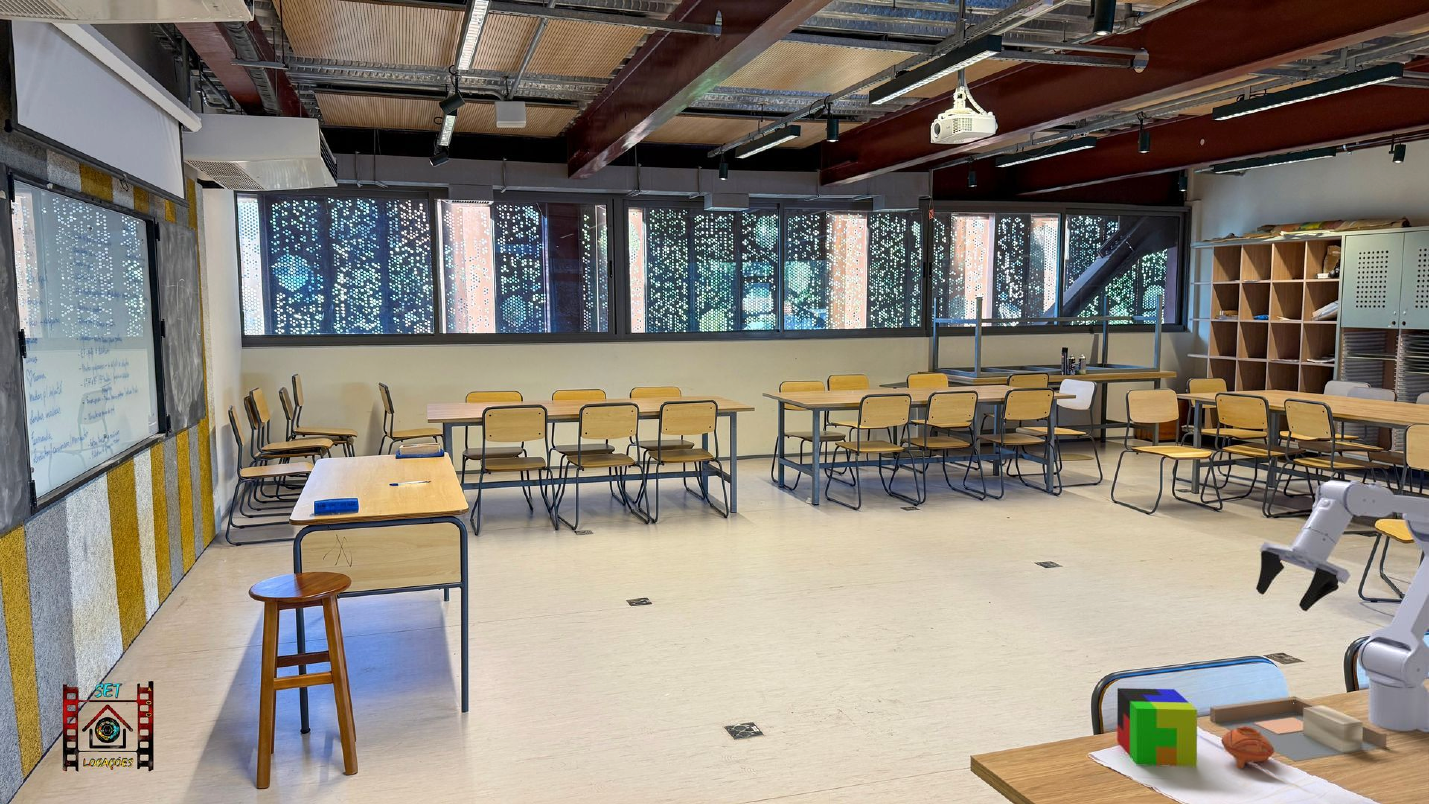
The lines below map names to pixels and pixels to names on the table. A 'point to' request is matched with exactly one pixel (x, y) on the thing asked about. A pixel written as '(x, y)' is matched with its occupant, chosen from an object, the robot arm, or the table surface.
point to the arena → (1286, 727)
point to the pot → (1247, 745)
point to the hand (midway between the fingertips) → (1280, 599)
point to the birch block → (1332, 728)
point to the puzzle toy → (1157, 726)
